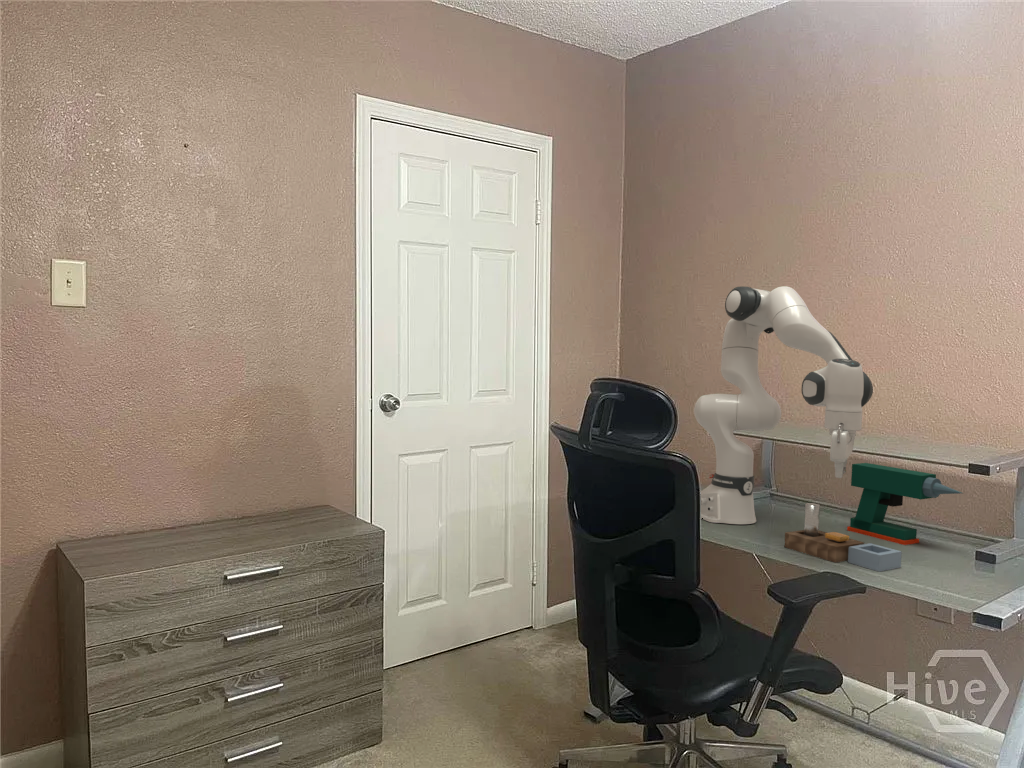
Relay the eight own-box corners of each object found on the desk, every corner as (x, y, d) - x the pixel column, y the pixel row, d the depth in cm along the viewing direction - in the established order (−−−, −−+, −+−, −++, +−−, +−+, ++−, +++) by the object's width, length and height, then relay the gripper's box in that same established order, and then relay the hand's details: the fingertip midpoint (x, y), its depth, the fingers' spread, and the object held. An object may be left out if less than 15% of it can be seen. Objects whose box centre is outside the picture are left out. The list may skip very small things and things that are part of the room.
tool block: (784, 547, 208) (785, 532, 208) (811, 542, 213) (812, 528, 213) (835, 562, 194) (836, 546, 194) (863, 557, 199) (864, 542, 199)
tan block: (824, 552, 201) (825, 533, 201) (833, 551, 203) (834, 531, 203) (839, 557, 197) (840, 537, 197) (848, 555, 199) (849, 535, 199)
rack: (847, 562, 195) (848, 546, 194) (869, 558, 199) (870, 543, 199) (878, 571, 187) (879, 555, 187) (900, 567, 191) (901, 551, 191)
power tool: (968, 554, 206) (972, 480, 205) (953, 557, 202) (957, 481, 201) (862, 528, 233) (865, 462, 232) (847, 530, 230) (850, 463, 229)
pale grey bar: (800, 547, 208) (802, 503, 207) (809, 546, 210) (811, 502, 209) (811, 551, 205) (813, 506, 204) (820, 549, 206) (822, 505, 206)
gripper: (853, 426, 188) (850, 482, 188) (859, 420, 206) (856, 471, 206) (825, 424, 191) (822, 479, 191) (833, 418, 209) (831, 469, 209)
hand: (840, 475), depth 199 cm, fingers open, 6 cm apart
